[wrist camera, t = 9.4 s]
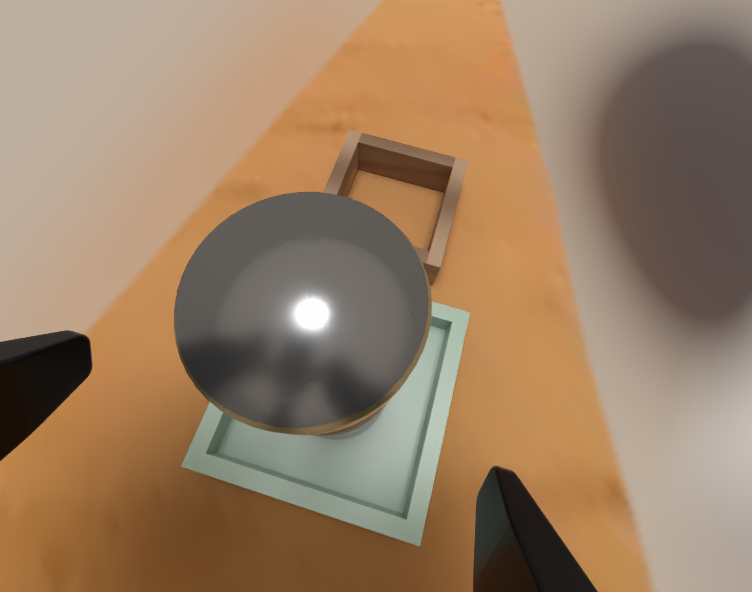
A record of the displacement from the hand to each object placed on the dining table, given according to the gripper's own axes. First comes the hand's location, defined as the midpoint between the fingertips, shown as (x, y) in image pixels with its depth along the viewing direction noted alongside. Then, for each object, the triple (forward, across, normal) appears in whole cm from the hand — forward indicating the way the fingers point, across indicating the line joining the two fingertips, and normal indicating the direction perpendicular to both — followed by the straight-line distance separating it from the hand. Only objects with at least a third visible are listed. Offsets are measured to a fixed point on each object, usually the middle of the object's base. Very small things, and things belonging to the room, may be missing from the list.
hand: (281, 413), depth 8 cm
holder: (+19, 0, -1) cm, 19 cm away
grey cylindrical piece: (+10, 0, +7) cm, 12 cm away
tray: (+10, 0, +7) cm, 13 cm away
